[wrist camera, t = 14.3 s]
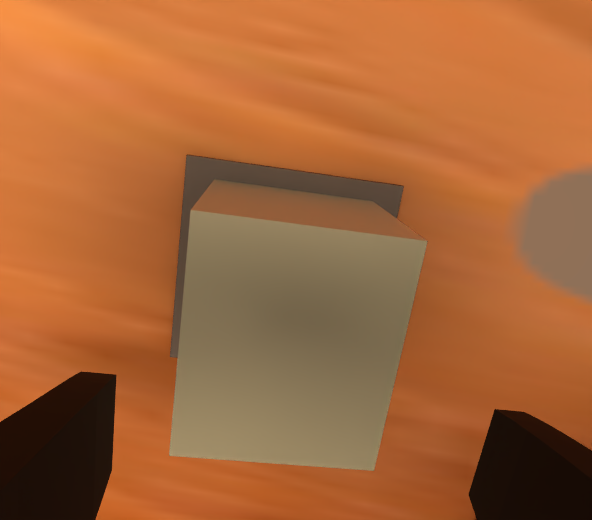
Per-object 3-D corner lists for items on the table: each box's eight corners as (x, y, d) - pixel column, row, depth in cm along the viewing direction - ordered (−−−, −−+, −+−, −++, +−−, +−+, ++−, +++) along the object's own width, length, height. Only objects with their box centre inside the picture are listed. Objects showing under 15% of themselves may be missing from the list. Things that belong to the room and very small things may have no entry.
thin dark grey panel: (402, 185, 18) (403, 186, 17) (362, 373, 20) (363, 375, 20) (187, 155, 17) (186, 155, 16) (171, 354, 19) (170, 356, 19)
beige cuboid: (339, 364, 20) (373, 470, 14) (197, 350, 19) (169, 455, 13) (371, 200, 18) (427, 240, 12) (215, 178, 17) (190, 209, 11)
